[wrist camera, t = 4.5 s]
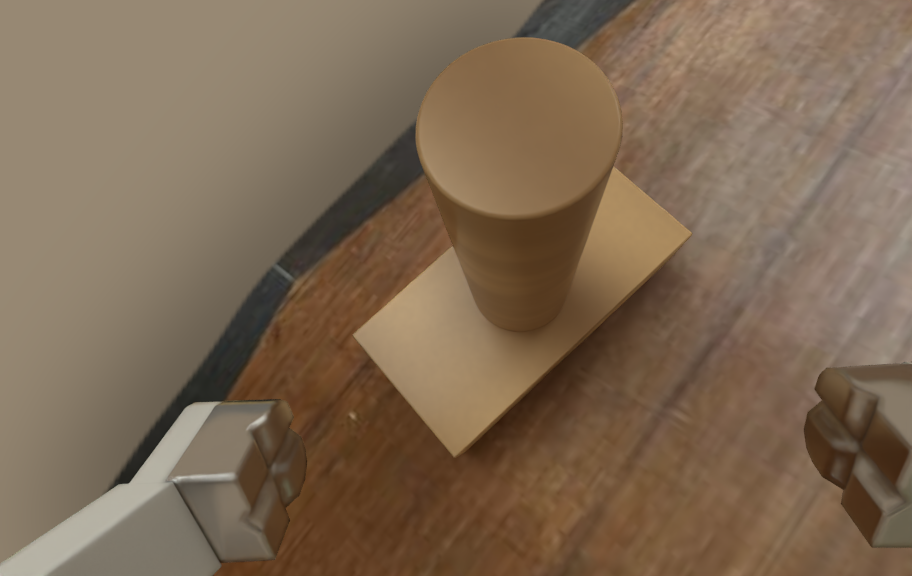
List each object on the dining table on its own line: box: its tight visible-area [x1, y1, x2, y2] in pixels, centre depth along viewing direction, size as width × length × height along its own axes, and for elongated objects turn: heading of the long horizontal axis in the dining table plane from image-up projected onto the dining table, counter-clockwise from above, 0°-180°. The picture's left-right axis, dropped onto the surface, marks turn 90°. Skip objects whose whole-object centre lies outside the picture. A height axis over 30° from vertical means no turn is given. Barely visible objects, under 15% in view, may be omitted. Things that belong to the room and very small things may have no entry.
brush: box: [352, 38, 692, 457], centre depth 13 cm, size 10×5×12 cm, turn 132°
